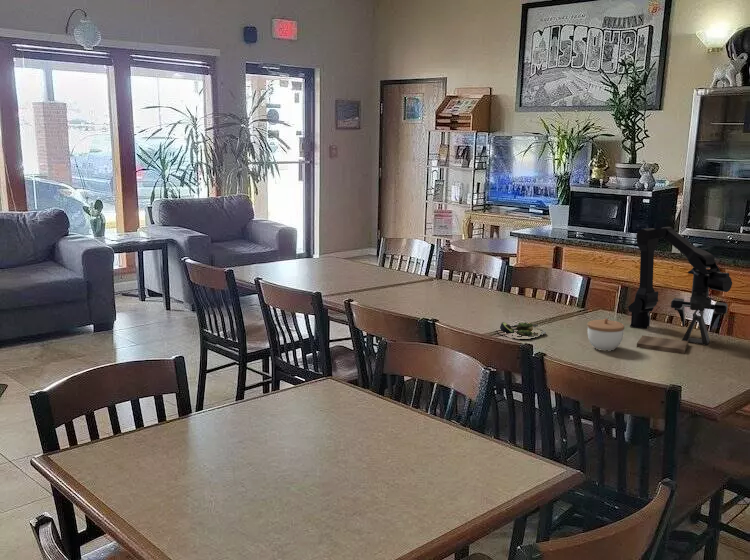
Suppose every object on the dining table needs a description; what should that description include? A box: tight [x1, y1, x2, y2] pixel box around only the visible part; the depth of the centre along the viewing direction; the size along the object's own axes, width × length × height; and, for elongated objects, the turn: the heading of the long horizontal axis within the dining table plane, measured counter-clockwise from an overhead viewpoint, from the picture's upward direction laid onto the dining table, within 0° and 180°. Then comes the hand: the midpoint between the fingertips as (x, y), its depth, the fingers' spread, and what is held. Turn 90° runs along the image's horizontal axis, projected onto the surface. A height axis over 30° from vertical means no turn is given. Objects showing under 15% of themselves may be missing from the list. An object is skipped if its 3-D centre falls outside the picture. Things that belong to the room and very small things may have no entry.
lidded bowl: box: [587, 318, 625, 352], centre depth 255 cm, size 13×13×11 cm
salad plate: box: [500, 321, 546, 337], centre depth 276 cm, size 19×18×5 cm
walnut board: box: [636, 335, 689, 355], centre depth 258 cm, size 16×12×2 cm
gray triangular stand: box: [681, 310, 711, 346], centre depth 263 cm, size 9×6×12 cm, turn 58°
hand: (696, 328), depth 264 cm, fingers open, 9 cm apart
